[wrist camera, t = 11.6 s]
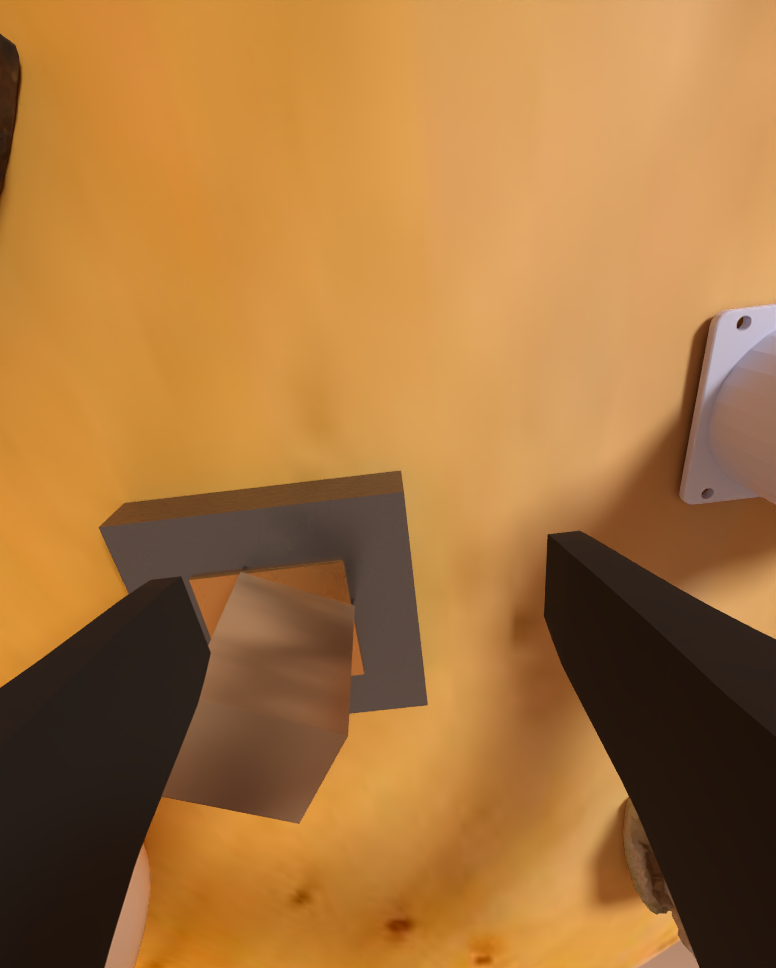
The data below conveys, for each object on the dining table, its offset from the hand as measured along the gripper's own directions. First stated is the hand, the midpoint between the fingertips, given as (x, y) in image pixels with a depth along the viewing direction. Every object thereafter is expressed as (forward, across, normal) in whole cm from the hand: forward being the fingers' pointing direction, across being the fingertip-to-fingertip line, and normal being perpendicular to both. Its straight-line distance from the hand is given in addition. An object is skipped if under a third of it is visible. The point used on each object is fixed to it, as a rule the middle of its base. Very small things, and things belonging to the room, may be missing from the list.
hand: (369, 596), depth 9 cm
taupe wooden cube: (+8, +5, +8) cm, 13 cm away
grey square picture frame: (+10, +5, +8) cm, 14 cm away
